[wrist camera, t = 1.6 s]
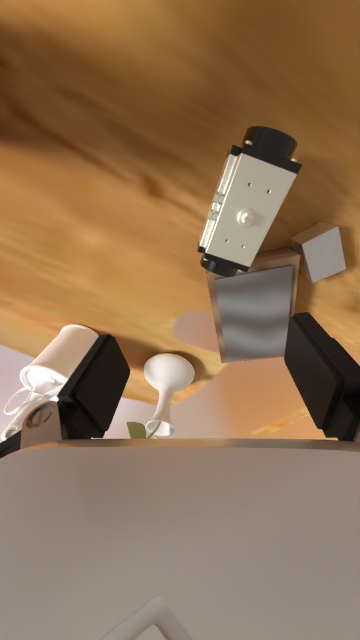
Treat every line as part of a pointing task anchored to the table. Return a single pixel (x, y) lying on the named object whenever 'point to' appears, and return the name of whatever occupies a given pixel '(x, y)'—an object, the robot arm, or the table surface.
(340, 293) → the table surface
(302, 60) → the table surface
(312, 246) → the grey rectangular block
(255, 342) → the stand
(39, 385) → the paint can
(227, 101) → the table surface
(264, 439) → the robot arm
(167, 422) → the flower in vase
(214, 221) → the pneumatic valve
